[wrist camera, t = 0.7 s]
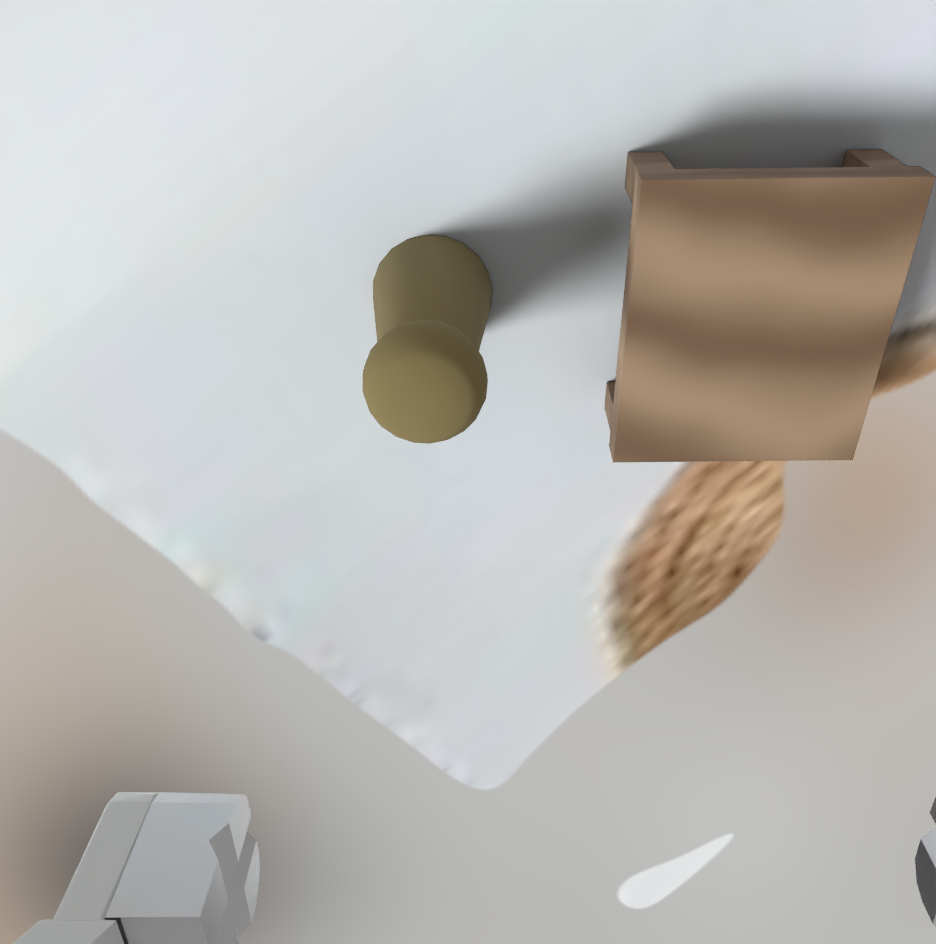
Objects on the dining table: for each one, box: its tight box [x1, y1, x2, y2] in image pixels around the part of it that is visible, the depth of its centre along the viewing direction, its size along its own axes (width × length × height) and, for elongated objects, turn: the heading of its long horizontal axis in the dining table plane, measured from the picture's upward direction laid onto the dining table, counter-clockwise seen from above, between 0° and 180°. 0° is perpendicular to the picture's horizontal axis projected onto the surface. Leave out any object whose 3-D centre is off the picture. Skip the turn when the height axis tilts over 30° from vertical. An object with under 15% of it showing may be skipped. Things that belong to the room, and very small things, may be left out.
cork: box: [363, 235, 492, 443], centre depth 39 cm, size 6×6×11 cm
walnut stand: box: [605, 149, 936, 462], centre depth 42 cm, size 14×12×5 cm
